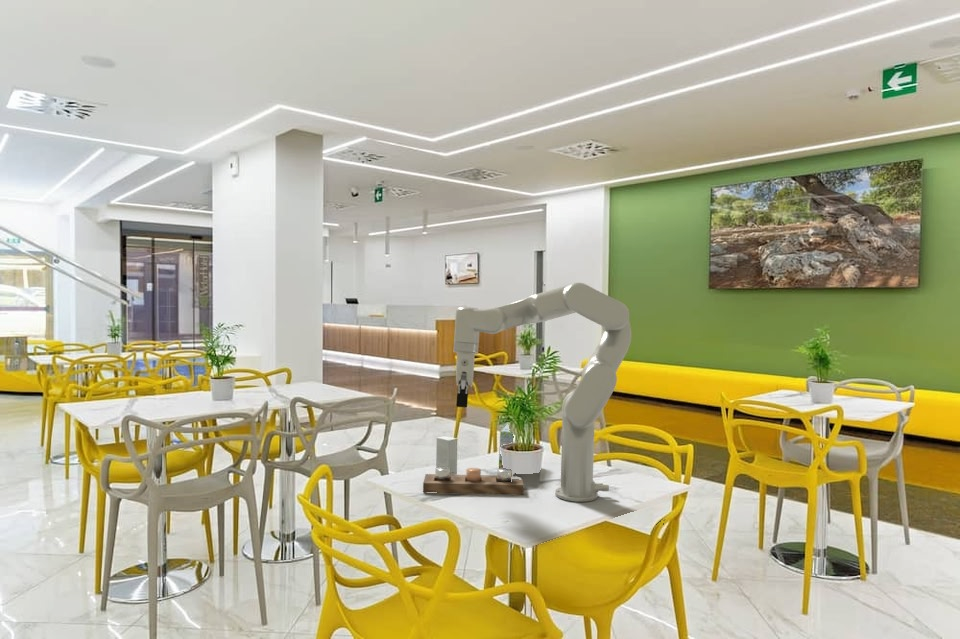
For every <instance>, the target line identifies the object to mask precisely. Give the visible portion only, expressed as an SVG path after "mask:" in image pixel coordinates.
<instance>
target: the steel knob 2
mask: <svg viewBox="0 0 960 639" xmlns="http://www.w3.org/2000/svg"><path fill="white" fill-rule="evenodd" d="M496 473H497V474H496V475H497V482H511V477H512V470H511V469H506V468H502V469H499V468H498V469H497V470H496Z"/></svg>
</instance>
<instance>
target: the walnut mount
mask: <svg viewBox="0 0 960 639" xmlns="http://www.w3.org/2000/svg"><path fill="white" fill-rule="evenodd" d="M422 483H423V484H422V493H423V492H437V493H436V494H451V493H460V495H467V494H468V495H506V496H507V495H511V496H513V495H514V496H523V495H524V482H523V479H522V480H519V479H512V482H497V474H496V475H495V474H493V475H491V474H490V475H489V474H487V475H486V474H481V481H480V482H467V481H466V474H455V475H450V480H449V481H435V473H425V476H424V478H423V482H422Z"/></svg>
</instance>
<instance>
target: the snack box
mask: <svg viewBox="0 0 960 639" xmlns="http://www.w3.org/2000/svg"><path fill="white" fill-rule="evenodd" d="M509 430H510V429H509V425H508V423H507V424H505V426H504V427H503V428H502V429H501V430H500V432H499V448H500V447H501V445H503V444H509V443H511V442H513V438H514V436H513V434H511V432H510V431H509ZM498 453H499V454H498V457H499V458H498V469H502V468H503V465H502V456H501V454H500V450H499V452H498Z"/></svg>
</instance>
